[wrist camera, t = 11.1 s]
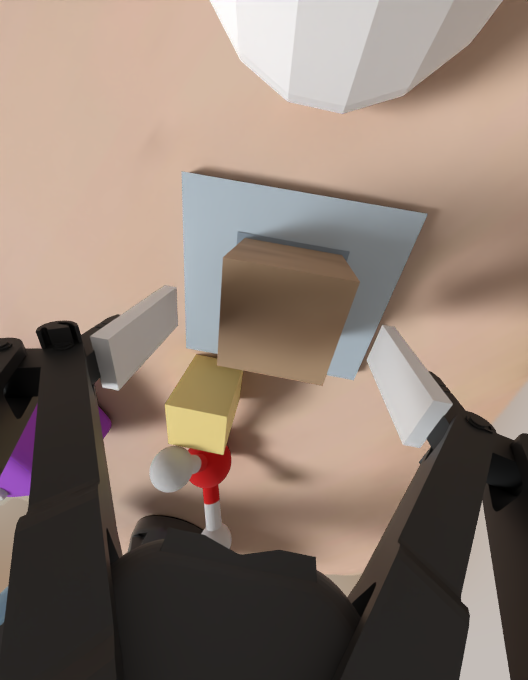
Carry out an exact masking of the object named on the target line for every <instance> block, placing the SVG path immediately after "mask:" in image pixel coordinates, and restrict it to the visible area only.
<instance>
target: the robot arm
mask: <svg viewBox="0 0 528 680" xmlns="http://www.w3.org/2000/svg"><path fill="white" fill-rule="evenodd" d="M177 326H178V315H177V288H176V287H172V286H167V285H164V286H163V287H161V288H160V289H158V290H157V291H155V292H154V293H152V294H151V295H149V296H148V297H147V298H145V299H144V300H142V301H141V302H139V303H138V304H136V305H135V306H133V307H132V308H130V309H129V310H127V311H126V312H125V313H123V314H122V315H115V316H112V317H109V318H107V319H105V320H104V321H102V322H101V323H100V324H98V325H96V326H95V327H93V328H91V329H90V330H88V331H87V332H85V333H84V334H82V335H81V334H80V331H79V327H78V325H77V323H75V322H72V321H55V322H50V323H47V324H44V325H42V326H40V327H38V328H37V330H36V333H37V336H38V339H39V341H40V344H41V347H42V349H25V347H24V345H23V342H22V341H21V340H20V339H17V338H0V476H1V474H2V472H3V470H4V468H5V466H6V464H7V462H8V460H9V458H10V456H11V454H12V452H13V450H14V448H15V447H16V445H17V443H18V441H19V439H20V437H21V435H22V433H23V431H24V429H25V427H26V425H27V423H28V421H29V419H30V417H31V415H32V413H33V411H34V409H35V407H36V405H37V403H38V405H37V416H36V427H35V439H34V450H33V461H32V472H31V484H30V495H29V507H28V512H27V514H26V515H24V516H22V517H20V518H19V520H18V522H17V525H16V530H15V535H14V543H13V552H12V560H11V569H10V577H9V585H8V587H7V588H5V589H4V591H3V592H1V593H0V680H459V677H460V671H461V666H462V661H463V655H464V650H465V644H466V639H467V634H468V628H469V618H470V615H469V610H468V608H467V607H466V606H465V605H464V604H463V603H462V602H461V592H462V588H463V583H464V579H465V574H466V570H467V565H468V561H469V556H470V552H471V547H472V543H473V539H474V534H475V529H476V525H477V521H478V516H479V511H480V507H481V503H482V501H483V506H484V513H485V520H486V526H487V532H488V539H489V545H490V551H491V558H492V564H493V570H494V576H495V583H496V589H497V596H498V603H499V609H500V615H501V622H502V628H503V634H504V641H505V647H506V654H507V660H508V666H509V672H510V679H511V680H528V434H524V433H523V434H521V435H519V436H518V437H517V438H516V439H515V440H512V439H509V438H507V437H504V436H502V435H499V434H497V433H496V430H495V429H494V427H493V426H492V425H491V424H490V423H489V422H488V421H486V420H485V419H483V418H482V417H480V416H479V415H476V414H474V413H472V412H468V411H465V409H464V408H463V407H462V406H461V404H460V403H459V402H458V401H457V399H456V398H455V397H454V395H453V394H452V393H450V390H449V389H448V388H447V387H446V385H445V384H444V383H443V382H442V380H441V379H440V378H439V377H437V376H436V375H435V374H434V373H432V372H430V371H428V370H427V369H426V368H425V366H424V365H423V364H422V362H421V361H420V360H419V358H418V357H417V356H416V354H415V353H414V352H413V351H412V349H411V348H410V347H409V345H408V344H407V343H406V341H405V340H404V339H403V337H402V336H401V335H400V333H399V332H398V331H397V329H396V328H395V327H392V326H387V325H382V327H381V329H380V331H379V333H378V336H377V338H376V340H375V342H374V345H373V347H372V349H371V351H370V354H369V356H368V358H367V363H368V365H369V367H370V370H371V372H372V374H373V377H374V379H375V381H376V383H377V386H378V388H379V390H380V393H381V395H382V397H383V400H384V402H385V404H386V407H387V409H388V411H389V414H390V416H391V418H392V420H393V423H394V425H395V427H396V430H397V432H398V434H399V437H400V439H401V441H402V444H403V445H407V446H412V447H417V448H420V447H421V446H422V445H423V443H424V442H425V441H426V439H427V440H428V442H429V444H430V446H431V448H430V449H429V450H428V451H427V453H426V454H425V455H424V456H423V458H422V459H421V460H420V462H419V463H420V466H419V468H418V470H417V472H416V474H415V476H414V477H413V479H412V481H411V483H410V485H409V487H408V489H407V491H406V493H405V494H404V496H403V498H402V500H401V502H400V504H399V506H398V508H397V510H396V511H395V513H394V515H393V517H392V519H391V521H390V523H389V525H388V526H387V528H386V530H385V532H384V534H383V536H382V538H381V540H380V542H379V543H378V545H377V547H376V549H375V551H374V553H373V555H372V557H371V559H370V560H369V562H368V564H367V566H366V568H365V570H364V572H363V574H362V576H361V577H360V579H359V581H358V582H357V584H356V586H355V587H354V588H353V590H352V591H351V593H350V594H349V596H348V597H346V595H345V594H344V593H343V592H342V591H341V590H340V589H339V588H338V586H337V585H335V584H334V583H333V582H332V581H331V580H330V579H329V578H327V577H326V576H325V575H324V574H322V573H321V572H319V571H317V570H316V557H312V556H307V555H302V554H297V553H292V552H287V551H283V550H275V551H267V552H259V553H252V554H244V555H241V554H237V553H235V552H234V551H232V550H230V549H228V548H227V547H225V546H223V545H221V544H220V543H218V542H216V541H214V540H213V539H211V538H209V537H207V536H206V535H203V534H202V532H203V531H202V530H201V529H199V528H198V527H196V526H194V525H192V524H190V523H187V522H185V521H182V520H179V519H175V518H170V517H164V516H149V517H145V518H142V519H140V520H139V521H138V522H137V524H136V526H135V529H134V531H133V533H132V535H131V539H130V543H129V548H128V553H126V554H125V555H123V556H122V551H121V546H120V541H119V537H118V532H117V527H116V520H115V514H114V507H113V500H112V494H111V487H110V481H109V474H108V468H107V461H106V455H105V448H104V442H103V435H102V429H101V422H100V416H99V409H98V402H97V396H96V389H95V386H94V383H95V382H96V381H97V380H98V379H99V378H100V379H101V383H102V387H103V388H108V389H113V390H118V391H119V390H120V389H121V388H122V387H123V385H124V384H125V383H126V382H127V381H128V380H129V379H130V378H131V377H132V375H133V374H134V373H135V372H136V371H137V370H138V369H139V368H140V367H141V366H142V364H143V363H144V362H145V361H146V360H147V359H148V358H149V357H150V356H151V355H152V353H153V352H154V351H155V350H156V349H157V348H158V347H159V346H160V345H161V344H162V342H163V341H164V340H165V339H166V338H167V337H168V336H169V335H170V334H171V332H172V331H173V330H174V329H175V328H176V327H177Z"/></svg>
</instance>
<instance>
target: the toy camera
mask: <svg viewBox="0 0 528 680" xmlns="http://www.w3.org/2000/svg"><path fill="white" fill-rule="evenodd" d="M37 405H38V403H37ZM37 405H36V407H35V409H34V411H33V413H32V415H31V417H30V419H29V421H28V423H27V425H26V427H25V429H24V431H23V433H22V435H21V437H20V439H19V441H18V443H17V445H16V447H15V448H14V450H13V452H12V454H11V456H10V458H9V460H8V462H7V464H6V466H5V468H4V470H3V472H2V474H1V476H0V500H4V499H5V498H6V497H18V496H28V495H30V484H31V472H32V461H33V450H34V439H35V427H36V416H37ZM98 409H99V416H100V422H101V429H102V435H103V439H104V437H105V436H106V434H107V433H108V432H109V430H110V428H111V421H110V419H109V418H108V416H107V415H106V414H105V413H104V412H103V411H102V410H101V408H100V407H99V406H98Z"/></svg>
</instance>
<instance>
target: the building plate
mask: <svg viewBox="0 0 528 680" xmlns="http://www.w3.org/2000/svg"><path fill="white" fill-rule="evenodd" d="M182 200H183V238H184V276H185V315H186V348H189V349H194V350H199V351H204V352H210V353H215V354H218V336H219V318H220V300H221V282H222V264H223V257H224V256H225V255H226V254H227V253H228V252H229V251H231V250H232V249H233V248H234V247H235V246H236V245H237V244H238V243H240V242H241V241H242V240H243V239H244V238H249V239H254V240H260V241H265V242H271V243H277V244H282V245H288V246H293V247H299V248H305V249H310V250H316V251H322V252H327V253H333V254H338V255H342V256H343V257H344V259H345V260H346V262H347V263H348V265H349V266H350V268H351V269H352V271H353V272H354V274H355V275H356V277H357V278H358V280H359V281H360V284H359V286H358V289H357V292H356V295H355V297H354V300H353V303H352V306H351V308H350V311H349V314H348V317H347V319H346V322H345V325H344V328H343V330H342V333H341V336H340V339H339V341H338V344H337V347H336V350H335V353H334V355H333V358H332V361H331V364H330V366H329V369H328V372H327V375H329V376H335V377H340V378H345V379H350V380H354V378H355V376H356V374H357V371H358V369H359V367H360V365H361V363H362V360H363V358H364V356H365V354H366V351H367V349H368V347H369V345H370V342H371V340H372V338H373V336H374V333H375V331H376V329H377V327H378V324H379V322H380V320H381V318H382V315H383V313H384V311H385V309H386V307H387V304H388V302H389V300H390V298H391V295H392V293H393V291H394V289H395V286H396V284H397V282H398V280H399V277H400V275H401V273H402V271H403V268H404V266H405V264H406V262H407V259H408V257H409V255H410V253H411V251H412V248H413V246H414V244H415V242H416V239H417V237H418V235H419V233H420V230H421V228H422V226H423V224H424V221H425V219H426V217H427V215H428V214H426V213H420V212H414V211H409V210H403V209H397V208H391V207H385V206H380V205H374V204H368V203H362V202H356V201H351V200H345V199H339V198H333V197H327V196H322V195H316V194H310V193H304V192H298V191H293V190H287V189H281V188H275V187H269V186H264V185H258V184H252V183H246V182H240V181H235V180H229V179H223V178H217V177H211V176H206V175H200V174H194V173H188V172H182Z"/></svg>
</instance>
